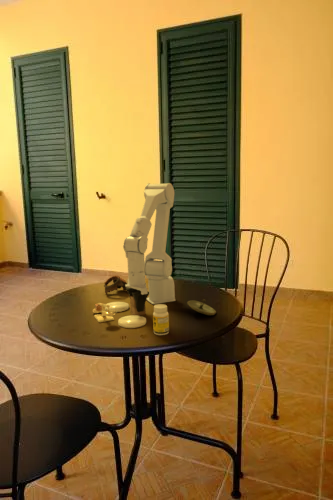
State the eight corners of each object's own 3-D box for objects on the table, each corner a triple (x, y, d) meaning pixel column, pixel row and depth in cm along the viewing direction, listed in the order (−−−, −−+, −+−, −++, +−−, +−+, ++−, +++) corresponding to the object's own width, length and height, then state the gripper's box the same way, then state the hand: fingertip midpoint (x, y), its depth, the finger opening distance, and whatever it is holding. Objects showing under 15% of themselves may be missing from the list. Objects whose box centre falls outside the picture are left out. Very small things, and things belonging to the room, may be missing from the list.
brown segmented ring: (132, 296, 163) (121, 281, 160) (111, 307, 164) (100, 291, 160) (130, 281, 174) (120, 267, 170) (111, 291, 175) (101, 277, 171)
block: (141, 310, 144) (140, 294, 143) (145, 314, 140) (145, 297, 139) (130, 312, 142) (130, 296, 141) (134, 316, 139) (133, 299, 138)
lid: (186, 308, 145) (185, 295, 144) (213, 307, 145) (213, 294, 144) (188, 319, 134) (187, 304, 134) (218, 318, 135) (218, 303, 134)
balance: (104, 310, 145) (103, 293, 144) (118, 325, 130) (117, 306, 129) (90, 312, 143) (89, 295, 142) (103, 327, 128) (102, 308, 127)
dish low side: (124, 303, 153) (124, 300, 153) (132, 309, 145) (132, 307, 145) (100, 306, 149) (100, 304, 149) (107, 313, 141) (107, 311, 141)
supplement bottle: (153, 330, 125) (152, 303, 124) (168, 329, 126) (167, 303, 124) (153, 336, 121) (153, 308, 119) (169, 335, 121) (169, 308, 120)
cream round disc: (140, 316, 138) (140, 313, 138) (150, 324, 130) (150, 321, 130) (114, 320, 134) (114, 318, 134) (123, 329, 126) (123, 326, 126)
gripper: (118, 268, 143) (120, 305, 146) (132, 277, 130) (134, 317, 133) (137, 266, 146) (138, 302, 149) (152, 274, 133) (154, 314, 136)
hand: (137, 309), depth 141 cm, fingers open, 4 cm apart
